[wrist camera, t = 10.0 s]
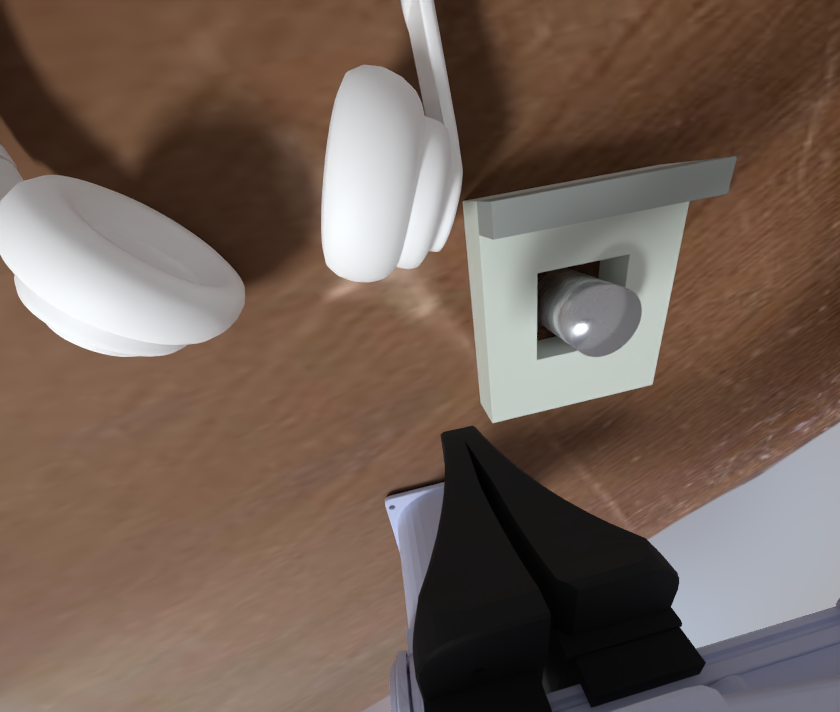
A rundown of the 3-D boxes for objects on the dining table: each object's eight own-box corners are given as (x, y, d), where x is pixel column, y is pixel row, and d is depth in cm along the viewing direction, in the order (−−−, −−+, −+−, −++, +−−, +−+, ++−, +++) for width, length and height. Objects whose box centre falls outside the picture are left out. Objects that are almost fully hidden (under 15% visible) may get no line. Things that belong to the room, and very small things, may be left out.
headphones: (469, 239, 19) (331, -321, 12) (531, 241, 12) (258, -1284, 4) (152, 350, 19) (-193, -150, 11) (8, 424, 11) (-1228, -855, 4)
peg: (579, 323, 23) (631, 352, 19) (525, 328, 23) (566, 360, 18) (589, 265, 21) (650, 283, 17) (532, 270, 21) (579, 290, 16)
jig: (626, 368, 26) (676, 399, 22) (480, 402, 25) (503, 442, 21) (658, 164, 19) (737, 155, 15) (462, 200, 18) (491, 201, 14)
